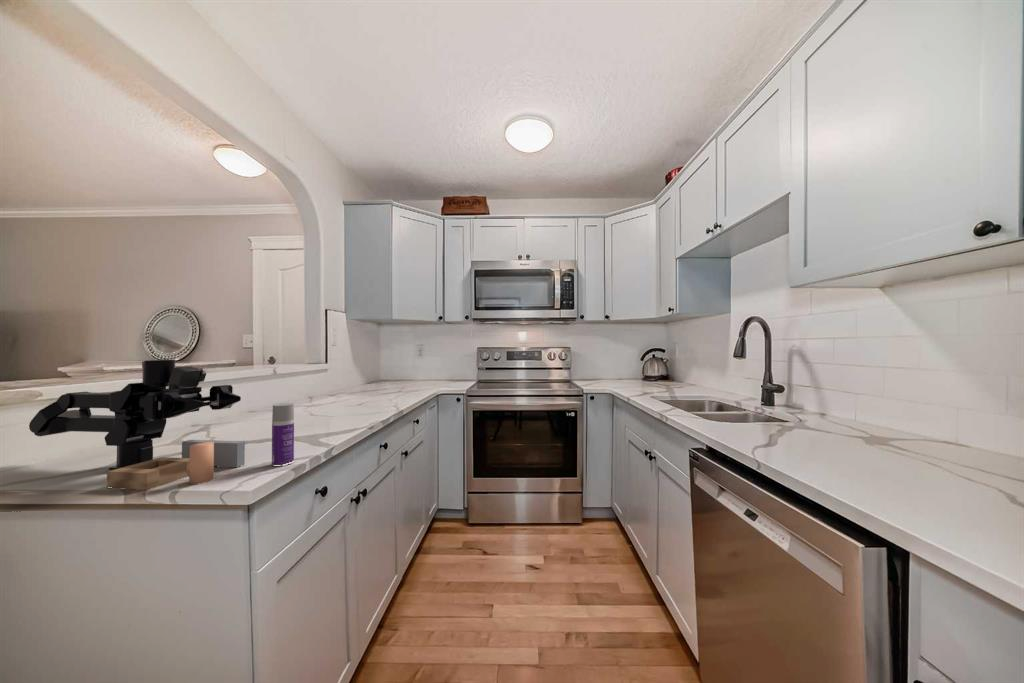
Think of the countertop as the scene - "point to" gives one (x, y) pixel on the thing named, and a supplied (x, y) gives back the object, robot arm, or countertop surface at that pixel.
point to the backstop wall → (221, 452)
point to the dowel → (201, 462)
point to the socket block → (149, 473)
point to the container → (282, 433)
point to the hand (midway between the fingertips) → (222, 401)
